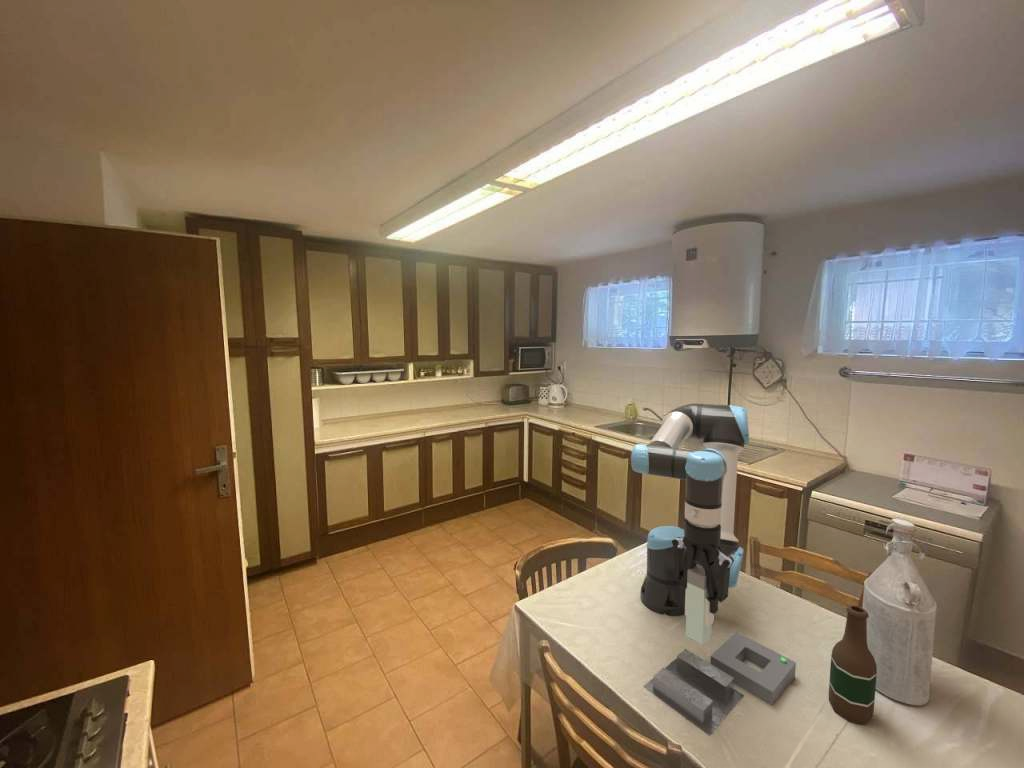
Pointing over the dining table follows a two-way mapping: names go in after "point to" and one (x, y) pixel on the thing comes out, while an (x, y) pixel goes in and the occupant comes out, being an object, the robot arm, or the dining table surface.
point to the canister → (900, 620)
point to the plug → (697, 605)
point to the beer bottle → (853, 671)
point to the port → (760, 684)
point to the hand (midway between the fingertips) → (698, 618)
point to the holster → (696, 690)
